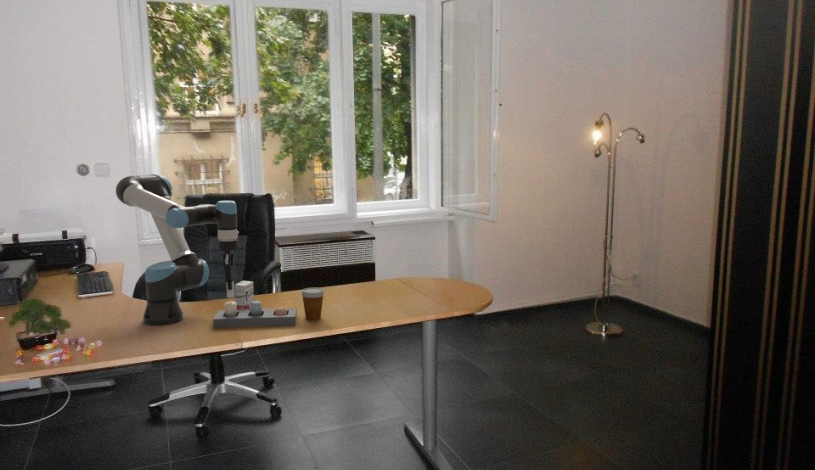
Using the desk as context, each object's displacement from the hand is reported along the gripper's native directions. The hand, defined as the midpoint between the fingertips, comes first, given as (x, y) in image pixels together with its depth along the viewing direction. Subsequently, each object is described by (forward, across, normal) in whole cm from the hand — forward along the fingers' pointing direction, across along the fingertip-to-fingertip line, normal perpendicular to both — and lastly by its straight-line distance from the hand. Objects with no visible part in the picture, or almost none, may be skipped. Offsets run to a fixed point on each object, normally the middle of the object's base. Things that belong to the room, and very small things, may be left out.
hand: (230, 296), depth 239 cm
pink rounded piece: (+11, 0, -20) cm, 22 cm away
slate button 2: (+8, 0, -10) cm, 12 cm away
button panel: (+11, 0, -10) cm, 15 cm away
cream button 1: (+8, 0, 0) cm, 8 cm away
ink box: (+11, +19, -3) cm, 22 cm away
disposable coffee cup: (+11, +3, -33) cm, 35 cm away
